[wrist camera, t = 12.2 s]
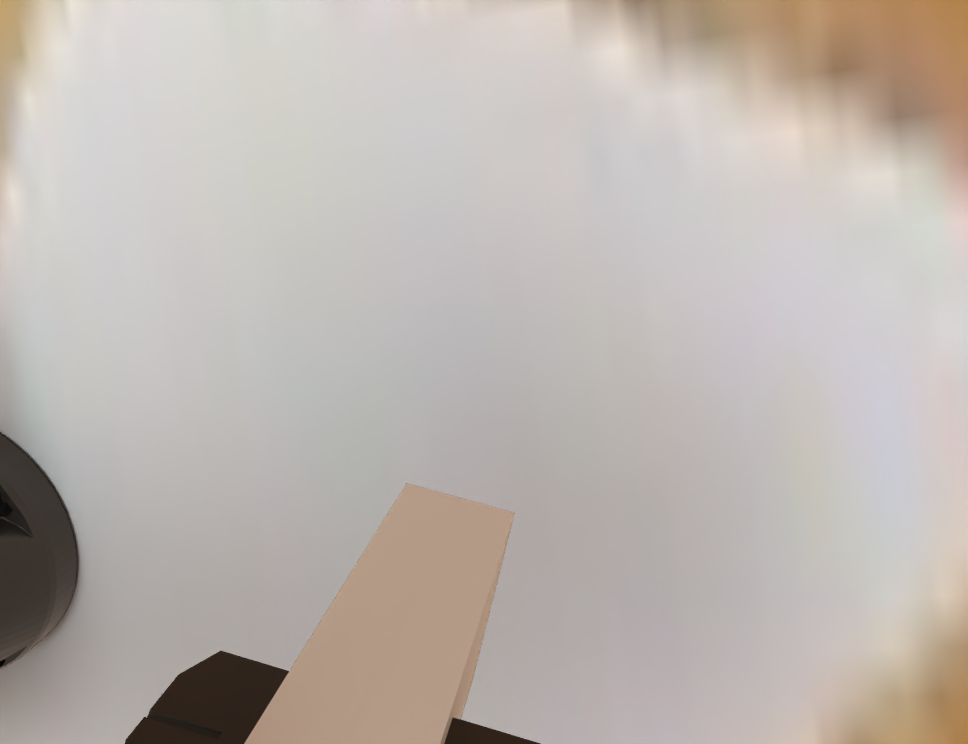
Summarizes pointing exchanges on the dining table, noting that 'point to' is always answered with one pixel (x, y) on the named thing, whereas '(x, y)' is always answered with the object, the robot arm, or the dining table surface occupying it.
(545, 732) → the dining table surface
